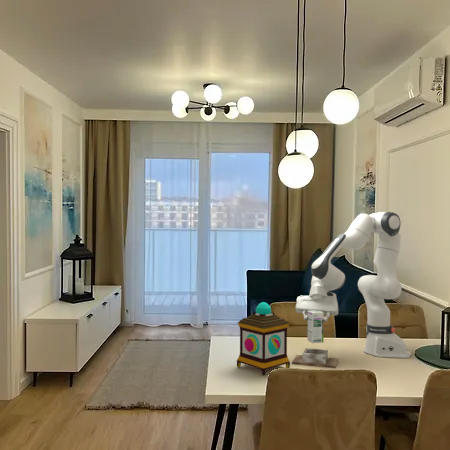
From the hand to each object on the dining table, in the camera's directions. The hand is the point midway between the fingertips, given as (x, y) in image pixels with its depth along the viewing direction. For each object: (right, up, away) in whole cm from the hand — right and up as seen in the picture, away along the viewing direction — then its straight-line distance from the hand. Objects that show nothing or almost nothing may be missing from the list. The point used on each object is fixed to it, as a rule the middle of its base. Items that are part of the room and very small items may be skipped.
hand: (315, 320), depth 226 cm
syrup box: (0, -10, +1) cm, 10 cm away
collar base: (0, -20, +1) cm, 20 cm away
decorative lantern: (-25, -20, -9) cm, 34 cm away
